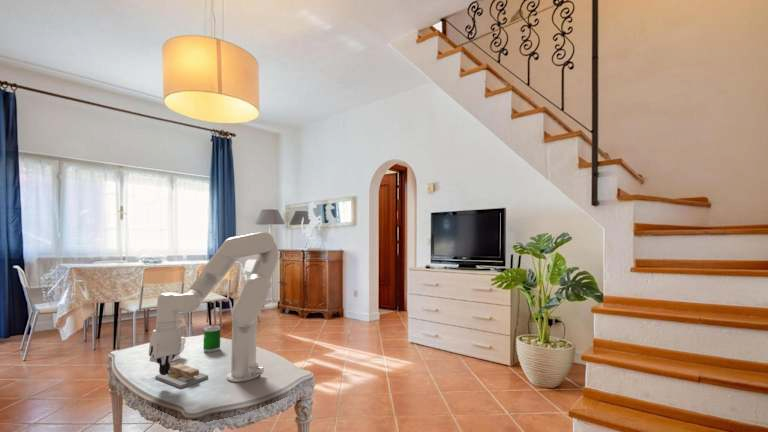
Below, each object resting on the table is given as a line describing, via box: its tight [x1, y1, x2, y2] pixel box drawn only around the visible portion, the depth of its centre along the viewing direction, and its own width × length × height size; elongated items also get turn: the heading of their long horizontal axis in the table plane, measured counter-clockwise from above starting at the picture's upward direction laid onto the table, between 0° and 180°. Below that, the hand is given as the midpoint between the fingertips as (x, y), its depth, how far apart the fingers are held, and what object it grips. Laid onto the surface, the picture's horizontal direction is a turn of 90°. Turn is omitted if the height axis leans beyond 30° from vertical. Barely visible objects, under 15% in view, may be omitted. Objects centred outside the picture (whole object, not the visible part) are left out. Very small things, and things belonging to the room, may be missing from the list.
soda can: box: [202, 324, 222, 353], centre depth 177 cm, size 8×8×12 cm
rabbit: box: [165, 336, 187, 362], centre depth 164 cm, size 12×9×12 cm
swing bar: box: [169, 362, 200, 378], centre depth 143 cm, size 17×4×2 cm, turn 59°
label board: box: [155, 371, 209, 390], centre depth 142 cm, size 18×11×2 cm, turn 59°
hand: (164, 373), depth 135 cm, fingers closed
